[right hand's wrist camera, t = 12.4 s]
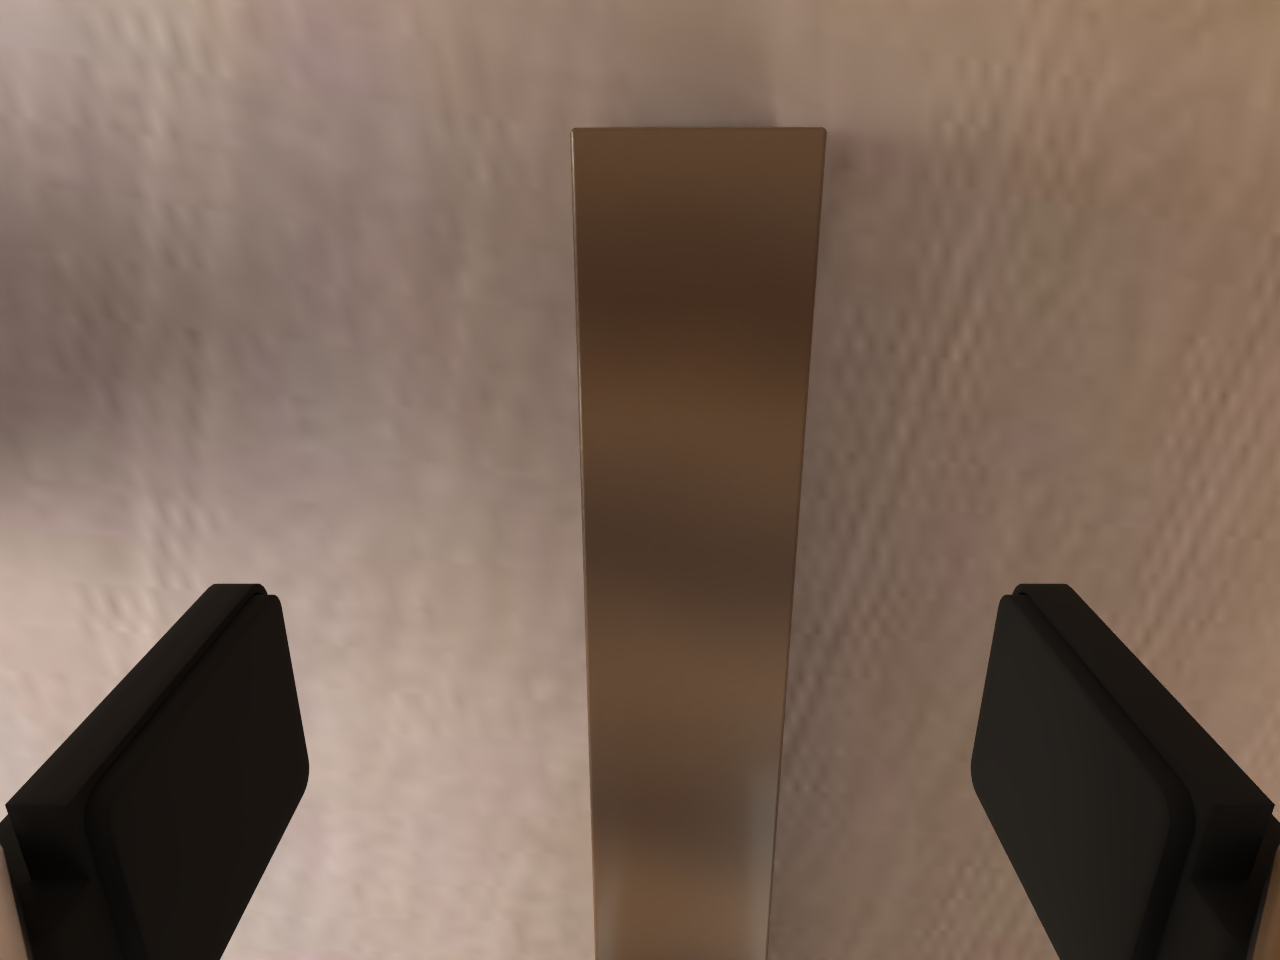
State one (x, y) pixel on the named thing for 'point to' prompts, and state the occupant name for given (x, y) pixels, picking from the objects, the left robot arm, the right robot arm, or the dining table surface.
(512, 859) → the dining table surface
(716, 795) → the beam
